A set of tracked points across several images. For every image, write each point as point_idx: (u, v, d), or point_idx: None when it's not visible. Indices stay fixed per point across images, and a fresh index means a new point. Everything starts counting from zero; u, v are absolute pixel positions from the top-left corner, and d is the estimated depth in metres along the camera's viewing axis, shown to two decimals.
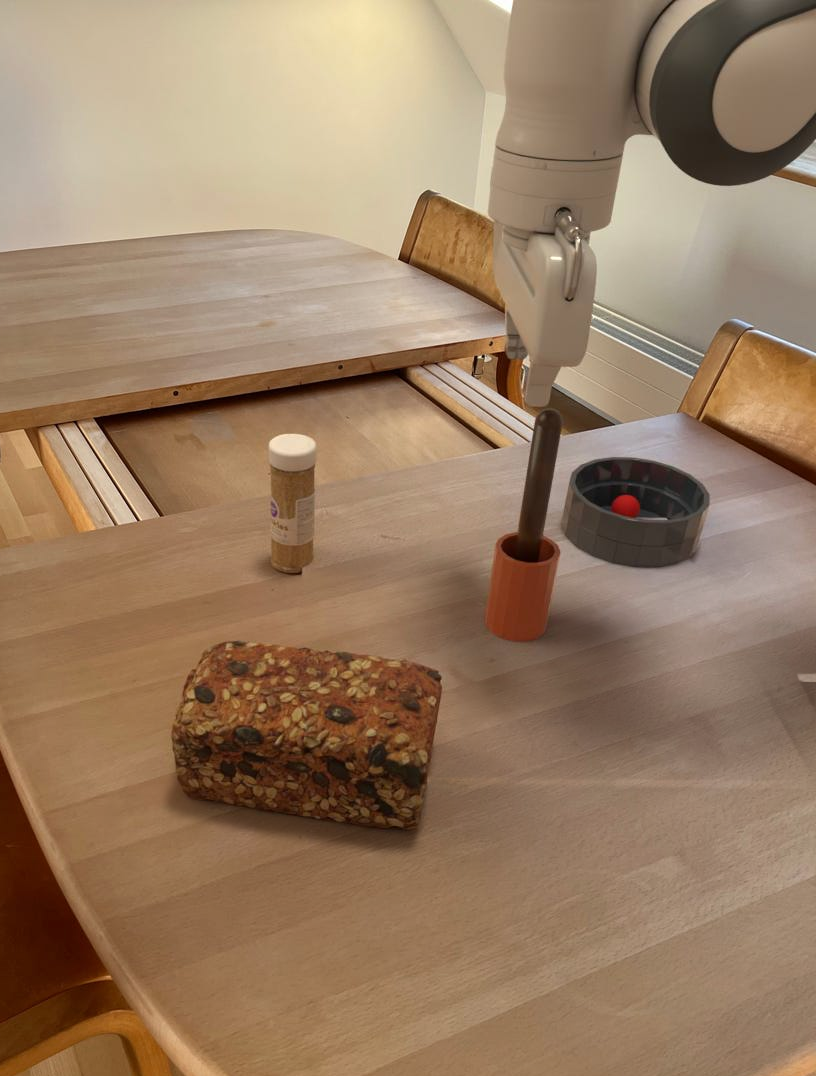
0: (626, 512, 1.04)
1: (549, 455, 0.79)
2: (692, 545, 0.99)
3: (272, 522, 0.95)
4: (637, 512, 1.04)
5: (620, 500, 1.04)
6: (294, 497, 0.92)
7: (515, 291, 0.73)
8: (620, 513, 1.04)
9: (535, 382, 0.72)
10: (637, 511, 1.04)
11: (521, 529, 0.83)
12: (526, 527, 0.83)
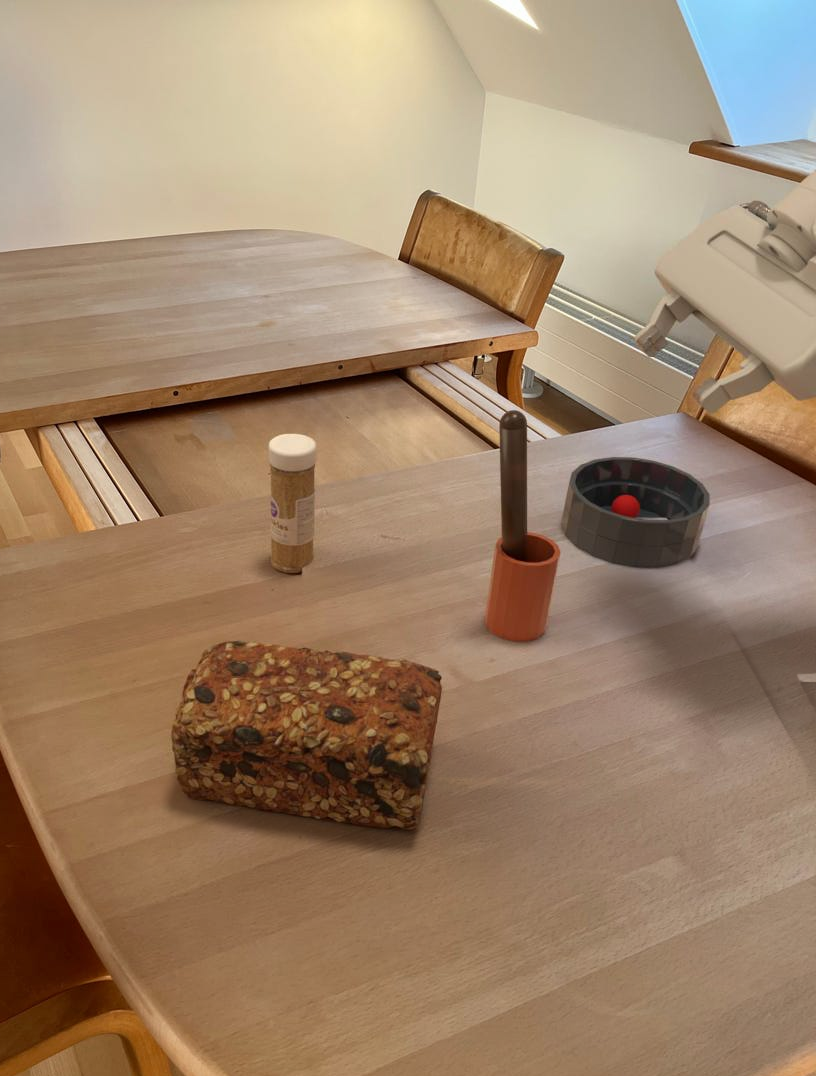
0: (626, 512, 1.04)
1: (518, 456, 0.79)
2: (692, 545, 0.99)
3: (272, 522, 0.95)
4: (637, 512, 1.04)
5: (620, 500, 1.04)
6: (294, 497, 0.92)
7: None
8: (620, 513, 1.04)
9: None
10: (637, 511, 1.04)
11: (504, 531, 0.84)
12: (508, 528, 0.83)
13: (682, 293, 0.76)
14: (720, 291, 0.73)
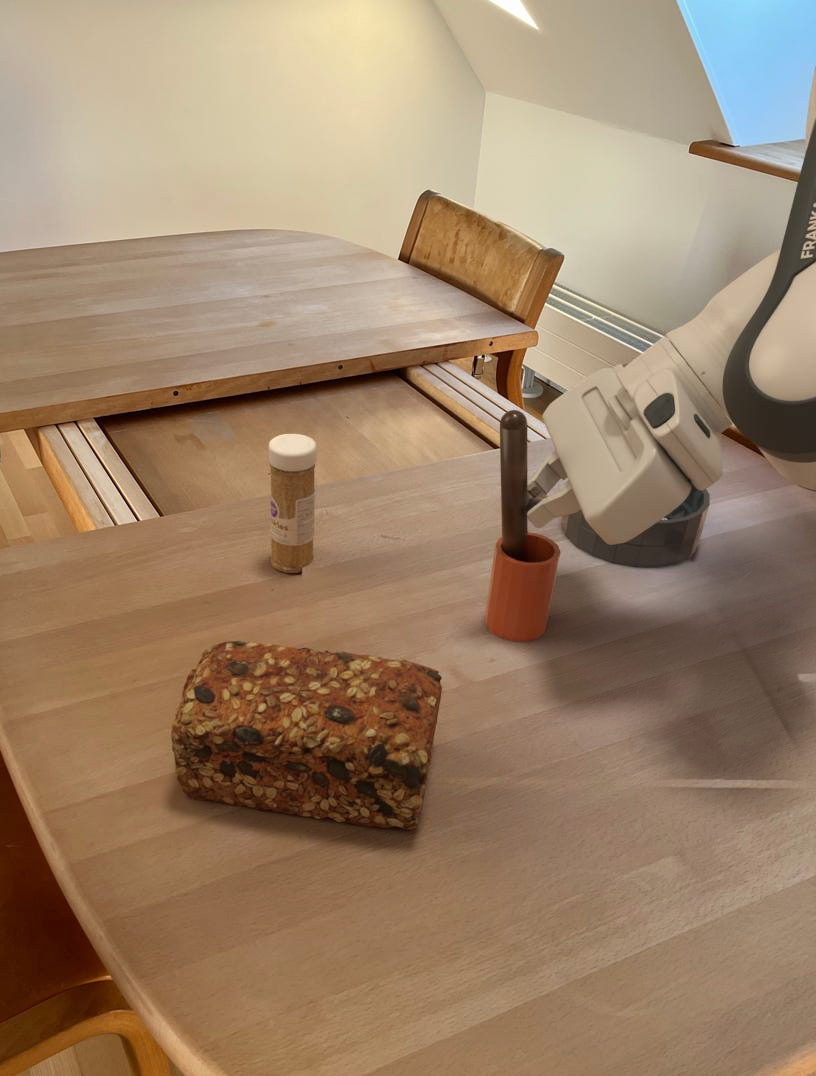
0: None
1: (519, 456, 0.79)
2: (692, 545, 0.99)
3: (272, 522, 0.95)
4: None
5: None
6: (294, 497, 0.92)
7: None
8: None
9: None
10: None
11: (504, 531, 0.84)
12: (508, 528, 0.83)
13: (551, 438, 0.84)
14: (573, 440, 0.81)
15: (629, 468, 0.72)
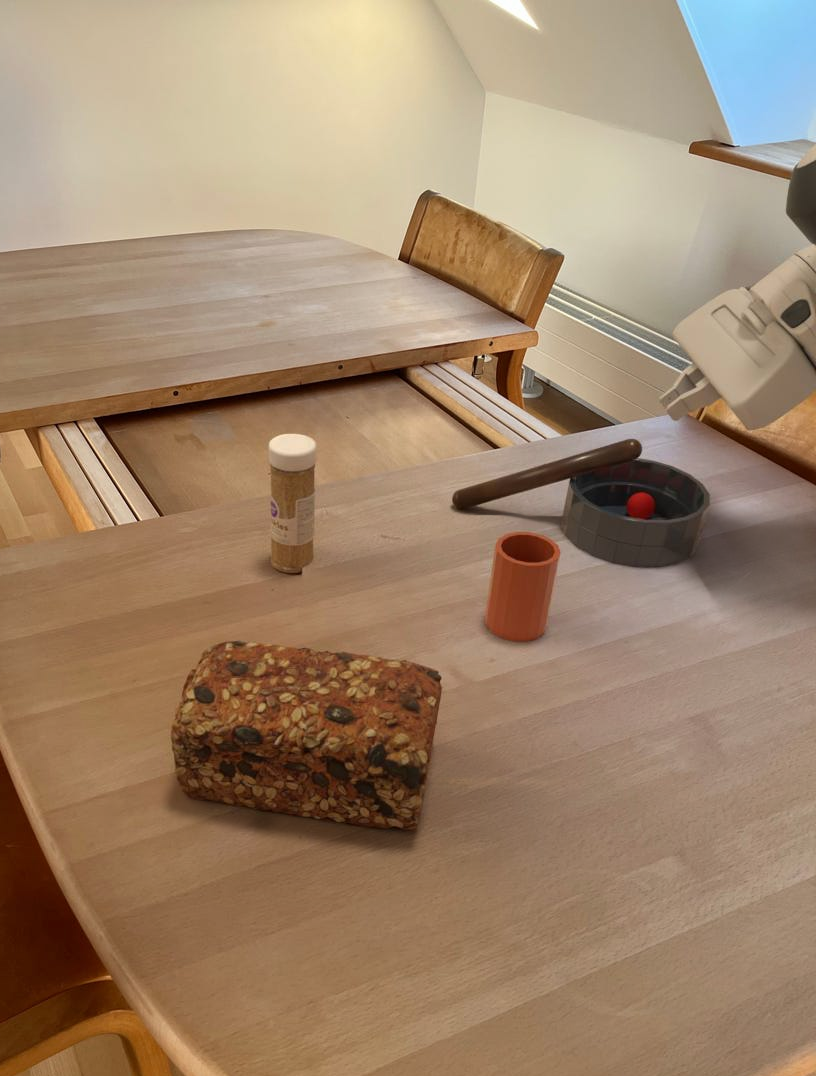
0: (653, 507, 1.05)
1: (478, 493, 1.06)
2: (692, 545, 0.99)
3: (272, 522, 0.95)
4: (649, 516, 1.06)
5: (649, 495, 1.05)
6: (294, 497, 0.92)
7: None
8: (650, 503, 1.04)
9: None
10: None
11: (545, 484, 1.03)
12: (540, 484, 1.03)
13: (685, 350, 0.97)
14: (709, 348, 0.94)
15: (769, 363, 0.86)
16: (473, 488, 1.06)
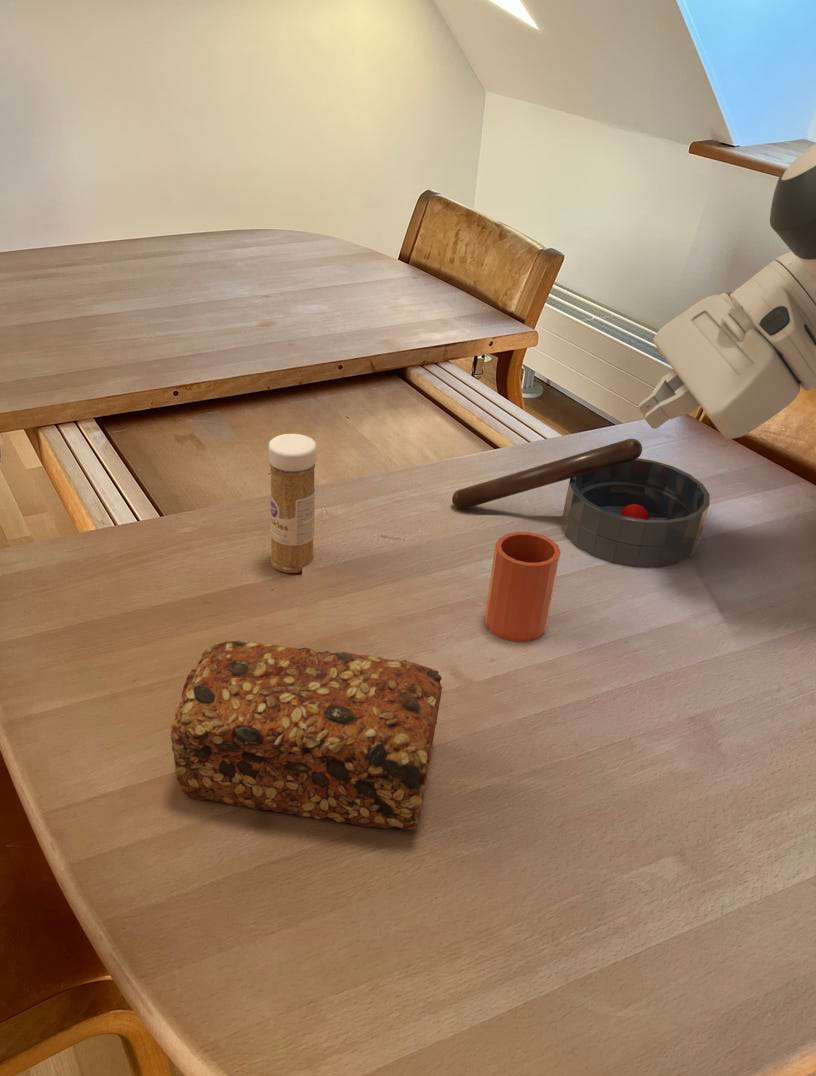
0: None
1: (478, 493, 1.06)
2: (692, 545, 0.99)
3: (272, 522, 0.95)
4: None
5: None
6: (294, 497, 0.92)
7: None
8: None
9: None
10: (647, 515, 1.04)
11: (545, 484, 1.03)
12: (540, 484, 1.03)
13: (665, 356, 0.96)
14: (688, 355, 0.92)
15: (747, 371, 0.84)
16: (473, 488, 1.06)
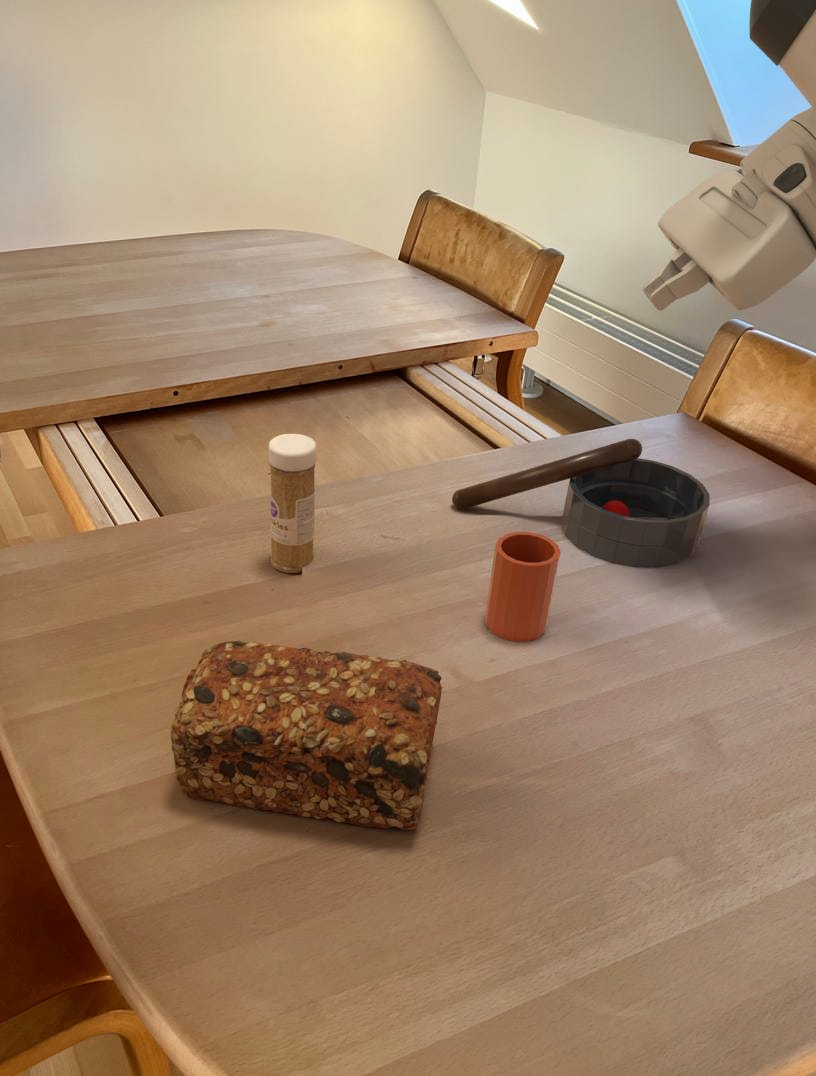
0: (623, 508, 1.03)
1: (477, 493, 1.06)
2: (692, 545, 0.99)
3: (272, 522, 0.95)
4: (616, 501, 1.04)
5: None
6: (294, 497, 0.92)
7: None
8: (625, 513, 1.03)
9: None
10: (616, 501, 1.04)
11: (545, 484, 1.03)
12: (540, 484, 1.03)
13: (671, 236, 0.90)
14: (696, 230, 0.87)
15: (761, 234, 0.79)
16: (473, 488, 1.06)
